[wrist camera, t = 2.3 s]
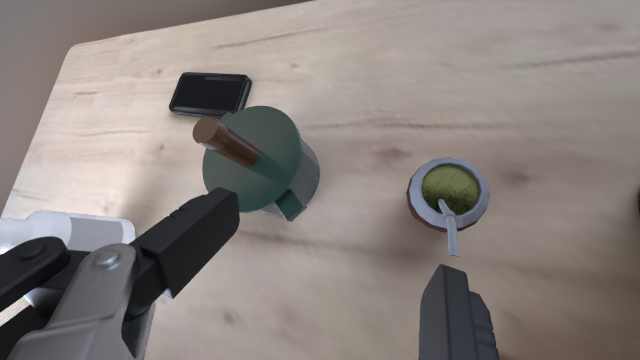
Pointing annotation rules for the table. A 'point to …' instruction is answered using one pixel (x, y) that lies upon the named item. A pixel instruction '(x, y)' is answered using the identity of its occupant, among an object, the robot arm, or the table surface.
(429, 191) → the mate gourd
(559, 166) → the table surface
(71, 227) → the white bottle
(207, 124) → the lid
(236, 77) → the phone
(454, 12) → the table surface
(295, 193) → the pot
